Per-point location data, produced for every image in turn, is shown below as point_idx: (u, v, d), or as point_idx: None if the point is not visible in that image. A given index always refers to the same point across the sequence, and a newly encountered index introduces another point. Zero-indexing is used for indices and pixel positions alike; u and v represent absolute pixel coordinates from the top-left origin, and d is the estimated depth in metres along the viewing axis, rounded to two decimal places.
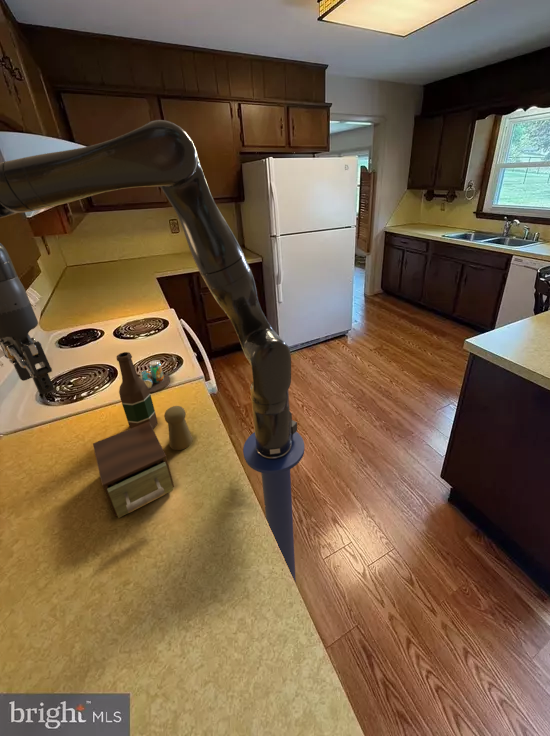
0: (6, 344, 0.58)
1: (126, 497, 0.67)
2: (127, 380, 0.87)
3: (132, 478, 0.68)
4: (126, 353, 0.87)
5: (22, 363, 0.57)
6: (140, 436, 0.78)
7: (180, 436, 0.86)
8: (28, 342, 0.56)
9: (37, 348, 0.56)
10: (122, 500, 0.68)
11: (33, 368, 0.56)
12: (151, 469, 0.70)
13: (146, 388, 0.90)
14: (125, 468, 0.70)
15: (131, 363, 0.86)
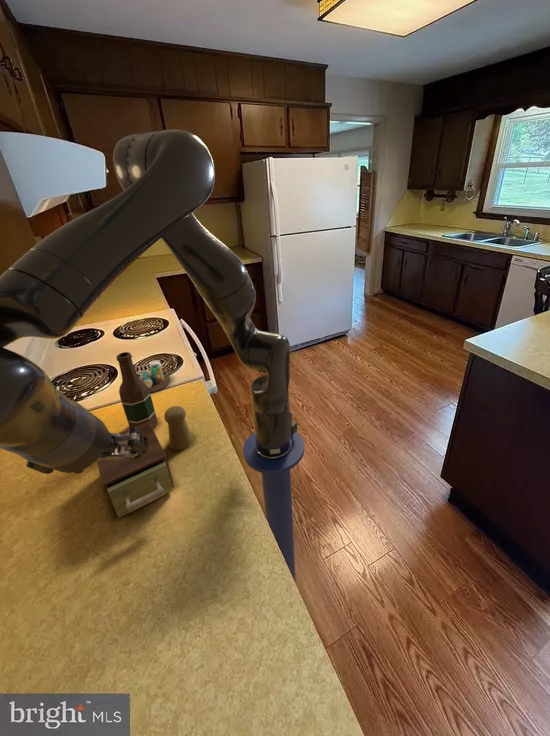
0: None
1: (126, 497, 0.67)
2: (127, 380, 0.87)
3: (132, 478, 0.68)
4: (126, 353, 0.87)
5: (121, 456, 0.49)
6: None
7: (180, 436, 0.86)
8: (119, 437, 0.47)
9: (137, 433, 0.48)
10: (122, 500, 0.68)
11: (144, 449, 0.50)
12: (151, 469, 0.70)
13: (146, 388, 0.90)
14: (125, 468, 0.70)
15: (131, 363, 0.86)
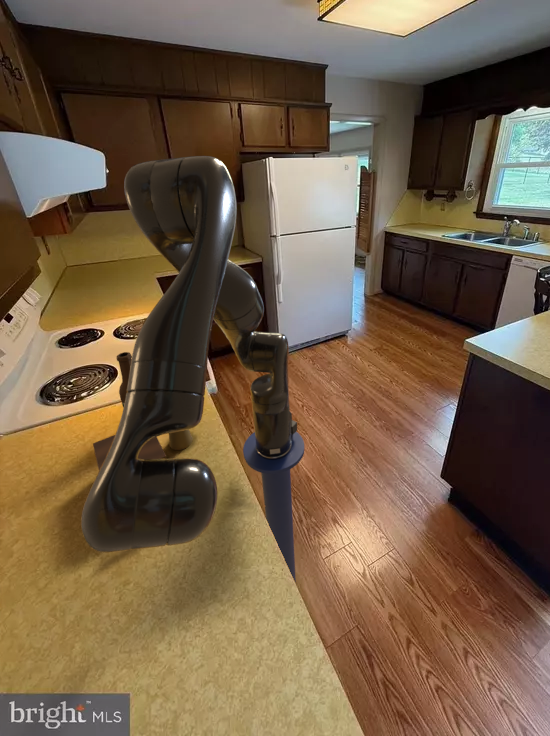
0: None
1: None
2: (127, 380, 0.87)
3: None
4: (126, 353, 0.87)
5: None
6: None
7: (180, 436, 0.86)
8: None
9: None
10: None
11: None
12: None
13: None
14: None
15: None
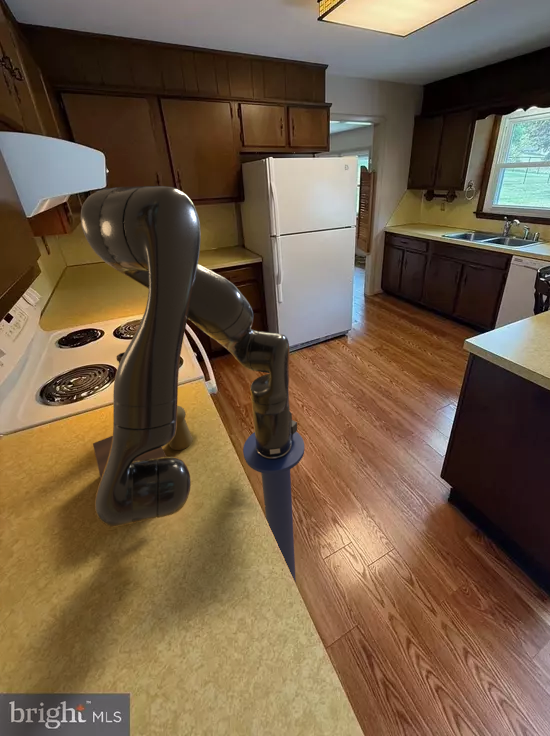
0: None
1: None
2: None
3: None
4: None
5: None
6: None
7: (180, 436, 0.86)
8: None
9: None
10: None
11: None
12: None
13: None
14: None
15: None
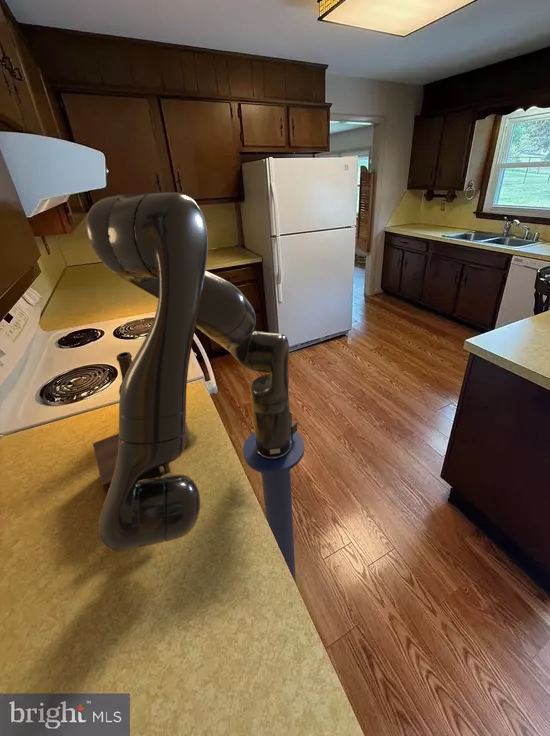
0: None
1: None
2: None
3: None
4: (126, 353, 0.87)
5: None
6: None
7: None
8: None
9: None
10: None
11: None
12: None
13: None
14: None
15: None
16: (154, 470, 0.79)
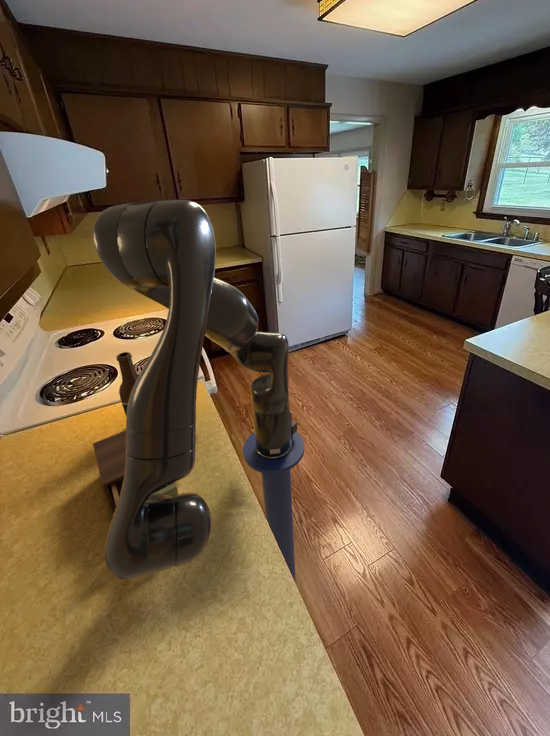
0: None
1: None
2: (127, 380, 0.87)
3: None
4: (126, 353, 0.87)
5: None
6: None
7: None
8: None
9: None
10: None
11: None
12: (160, 491, 0.65)
13: None
14: None
15: (131, 363, 0.86)
16: None
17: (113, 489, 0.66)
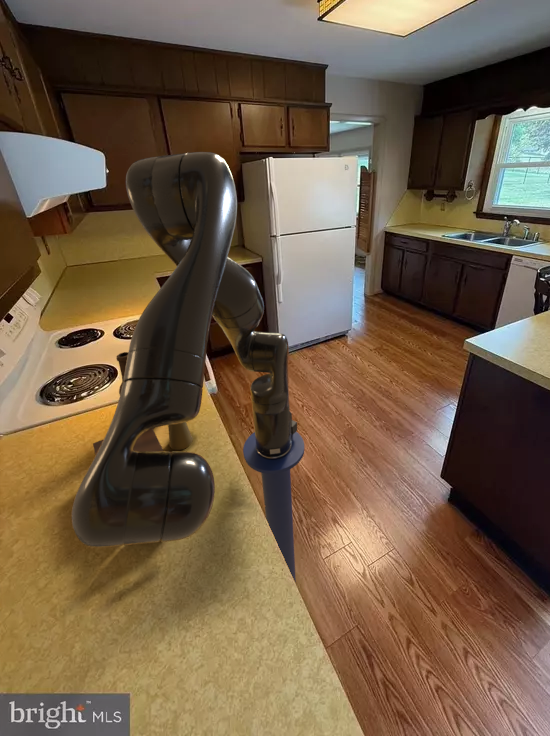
0: None
1: None
2: None
3: None
4: (126, 353, 0.87)
5: None
6: (140, 436, 0.78)
7: (180, 436, 0.86)
8: None
9: None
10: None
11: None
12: None
13: None
14: None
15: None
16: None
17: None
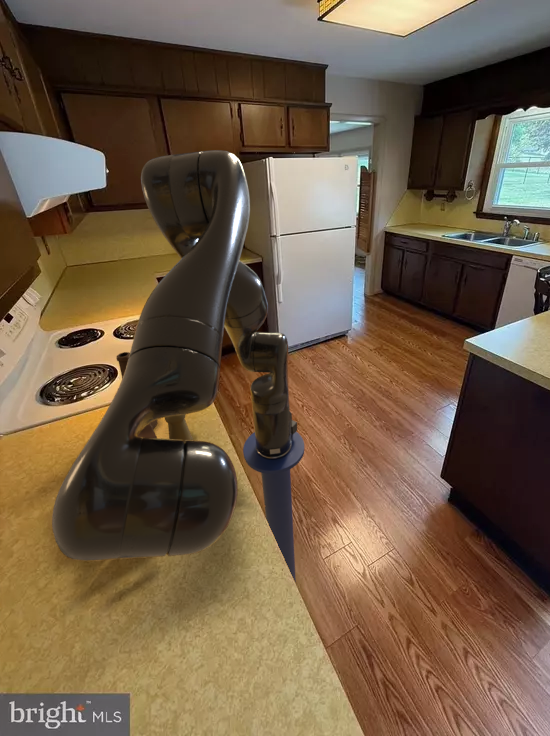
0: None
1: None
2: None
3: None
4: (126, 353, 0.87)
5: None
6: (140, 436, 0.78)
7: (180, 436, 0.86)
8: None
9: None
10: None
11: None
12: None
13: None
14: None
15: None
16: None
17: None
